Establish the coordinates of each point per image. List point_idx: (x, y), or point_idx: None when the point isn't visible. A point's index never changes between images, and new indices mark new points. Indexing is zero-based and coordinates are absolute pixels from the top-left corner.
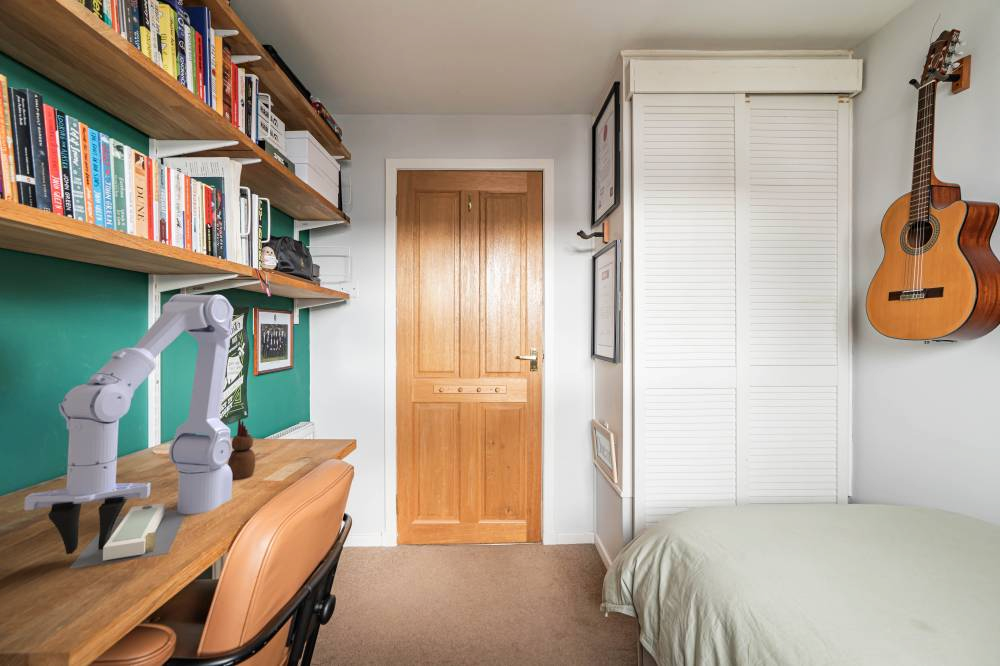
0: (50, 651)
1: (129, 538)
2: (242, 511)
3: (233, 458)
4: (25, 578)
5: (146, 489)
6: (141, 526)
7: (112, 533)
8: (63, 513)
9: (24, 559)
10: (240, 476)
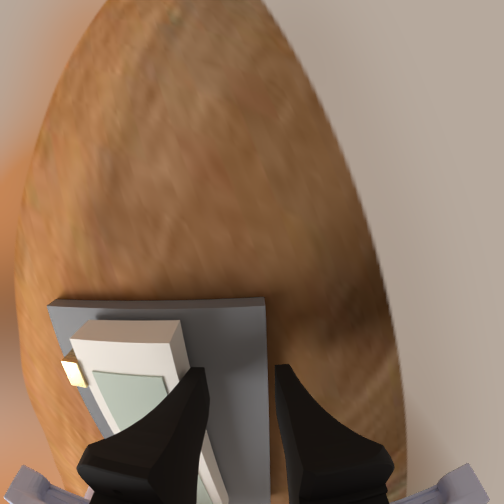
0: None
1: (119, 376)
2: (57, 451)
3: None
4: (362, 316)
5: (11, 489)
6: None
7: (238, 462)
8: (327, 470)
9: (382, 405)
10: None
